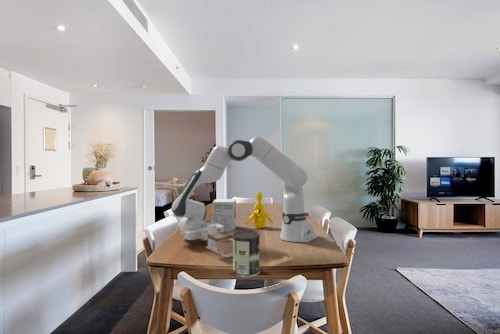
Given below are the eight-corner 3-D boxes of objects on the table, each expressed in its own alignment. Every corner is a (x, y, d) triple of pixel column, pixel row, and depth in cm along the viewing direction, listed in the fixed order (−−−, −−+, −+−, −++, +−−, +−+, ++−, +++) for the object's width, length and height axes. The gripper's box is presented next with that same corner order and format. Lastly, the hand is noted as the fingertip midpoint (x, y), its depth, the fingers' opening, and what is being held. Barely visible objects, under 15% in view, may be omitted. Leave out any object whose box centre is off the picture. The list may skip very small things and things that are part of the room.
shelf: (235, 250, 127) (235, 229, 127) (244, 254, 122) (244, 232, 122) (207, 257, 118) (207, 235, 117) (216, 261, 112) (216, 238, 112)
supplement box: (233, 231, 162) (233, 202, 161) (211, 230, 163) (211, 201, 162) (236, 226, 175) (236, 198, 175) (216, 225, 176) (216, 198, 175)
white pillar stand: (215, 246, 131) (215, 223, 131) (238, 256, 118) (238, 231, 117) (204, 249, 127) (204, 225, 127) (226, 260, 114) (226, 233, 113)
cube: (226, 249, 123) (226, 238, 123) (232, 252, 119) (233, 241, 119) (217, 252, 120) (217, 240, 120) (223, 255, 116) (223, 243, 116)
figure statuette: (246, 229, 167) (246, 193, 167) (244, 226, 175) (245, 191, 174) (274, 228, 169) (274, 193, 168) (272, 225, 177) (272, 191, 176)
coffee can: (256, 265, 108) (257, 230, 108) (262, 276, 98) (262, 237, 98) (231, 267, 107) (231, 231, 106) (233, 278, 96) (234, 239, 96)
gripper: (179, 226, 131) (193, 232, 120) (215, 220, 144) (230, 225, 133) (179, 239, 131) (193, 246, 120) (215, 232, 144) (230, 238, 134)
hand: (213, 235), depth 127 cm, fingers closed on white pillar stand, 3 cm apart
